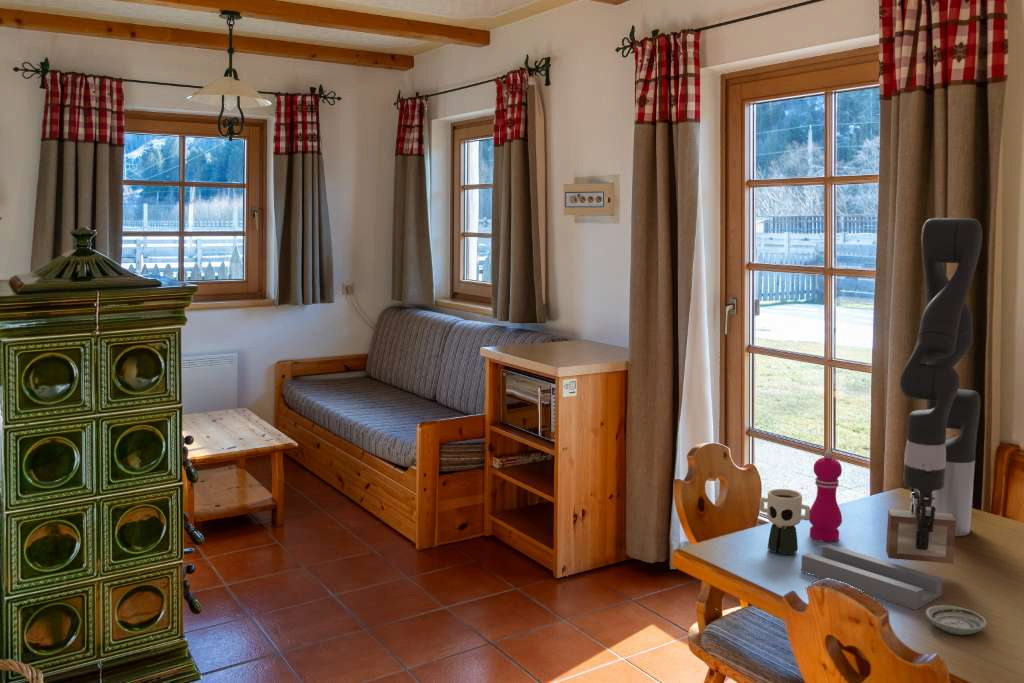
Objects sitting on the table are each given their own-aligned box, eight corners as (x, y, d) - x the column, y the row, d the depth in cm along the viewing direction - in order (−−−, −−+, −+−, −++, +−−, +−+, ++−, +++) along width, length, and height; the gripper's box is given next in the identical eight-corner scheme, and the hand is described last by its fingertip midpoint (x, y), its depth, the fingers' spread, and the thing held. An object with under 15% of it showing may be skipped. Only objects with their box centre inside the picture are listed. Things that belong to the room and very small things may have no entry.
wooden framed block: (886, 551, 189) (888, 509, 187) (949, 556, 185) (951, 513, 184) (888, 558, 185) (891, 516, 183) (953, 564, 181) (956, 520, 180)
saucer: (958, 645, 155) (959, 632, 154) (912, 622, 163) (913, 610, 163) (998, 635, 158) (999, 622, 158) (951, 613, 167) (952, 601, 167)
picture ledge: (827, 559, 193) (828, 543, 192) (941, 595, 175) (942, 578, 174) (801, 571, 186) (801, 555, 186) (916, 610, 168) (917, 592, 168)
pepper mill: (843, 543, 202) (848, 456, 200) (809, 541, 204) (813, 454, 201) (838, 532, 209) (842, 448, 207) (805, 530, 211) (809, 446, 208)
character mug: (752, 550, 198) (754, 493, 196) (763, 541, 204) (766, 485, 202) (802, 561, 192) (805, 502, 190) (812, 551, 197) (815, 493, 196)
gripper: (899, 452, 190) (894, 531, 192) (910, 471, 176) (905, 556, 179) (938, 454, 188) (933, 534, 190) (952, 474, 174) (946, 559, 177)
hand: (919, 544), depth 185 cm, fingers closed on wooden framed block, 4 cm apart
